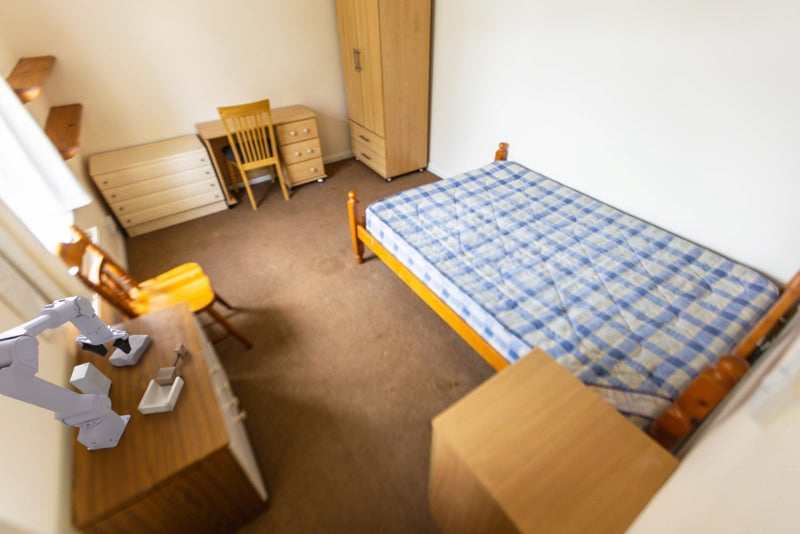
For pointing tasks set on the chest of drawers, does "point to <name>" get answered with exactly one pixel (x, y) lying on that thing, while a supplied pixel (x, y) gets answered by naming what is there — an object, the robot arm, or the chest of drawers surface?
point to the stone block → (137, 349)
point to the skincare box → (90, 380)
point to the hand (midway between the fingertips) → (117, 352)
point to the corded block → (171, 369)
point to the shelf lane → (160, 397)
